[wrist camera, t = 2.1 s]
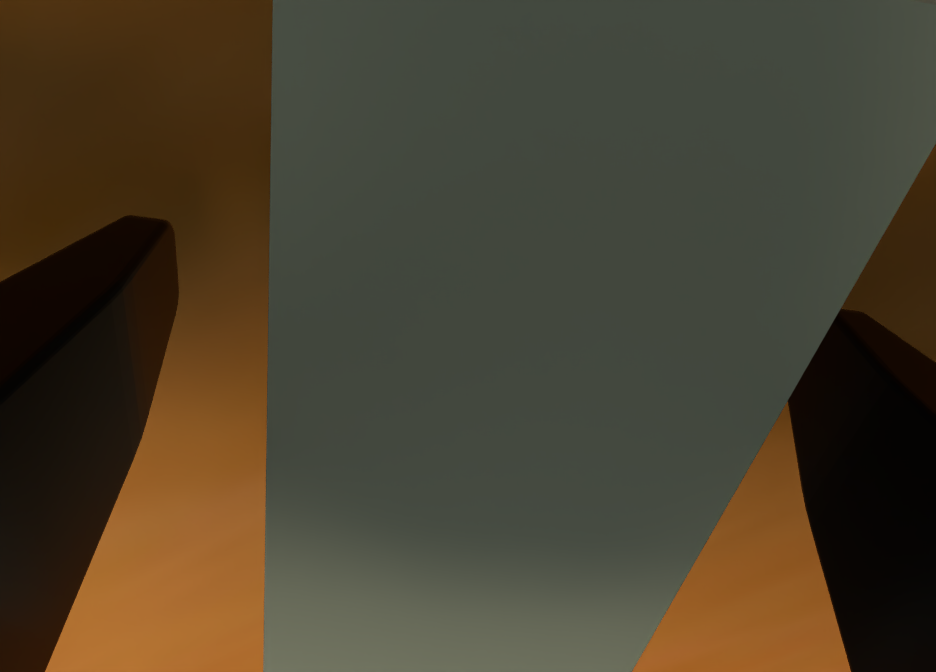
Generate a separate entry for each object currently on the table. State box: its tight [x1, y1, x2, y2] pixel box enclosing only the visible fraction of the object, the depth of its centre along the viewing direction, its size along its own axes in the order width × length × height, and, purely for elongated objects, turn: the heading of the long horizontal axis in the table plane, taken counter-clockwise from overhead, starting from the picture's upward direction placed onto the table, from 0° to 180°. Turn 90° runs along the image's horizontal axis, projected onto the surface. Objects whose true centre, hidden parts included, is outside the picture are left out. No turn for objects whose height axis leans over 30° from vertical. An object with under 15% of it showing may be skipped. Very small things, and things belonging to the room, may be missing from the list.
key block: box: [263, 0, 936, 672], centre depth 8 cm, size 4×8×4 cm, turn 171°
